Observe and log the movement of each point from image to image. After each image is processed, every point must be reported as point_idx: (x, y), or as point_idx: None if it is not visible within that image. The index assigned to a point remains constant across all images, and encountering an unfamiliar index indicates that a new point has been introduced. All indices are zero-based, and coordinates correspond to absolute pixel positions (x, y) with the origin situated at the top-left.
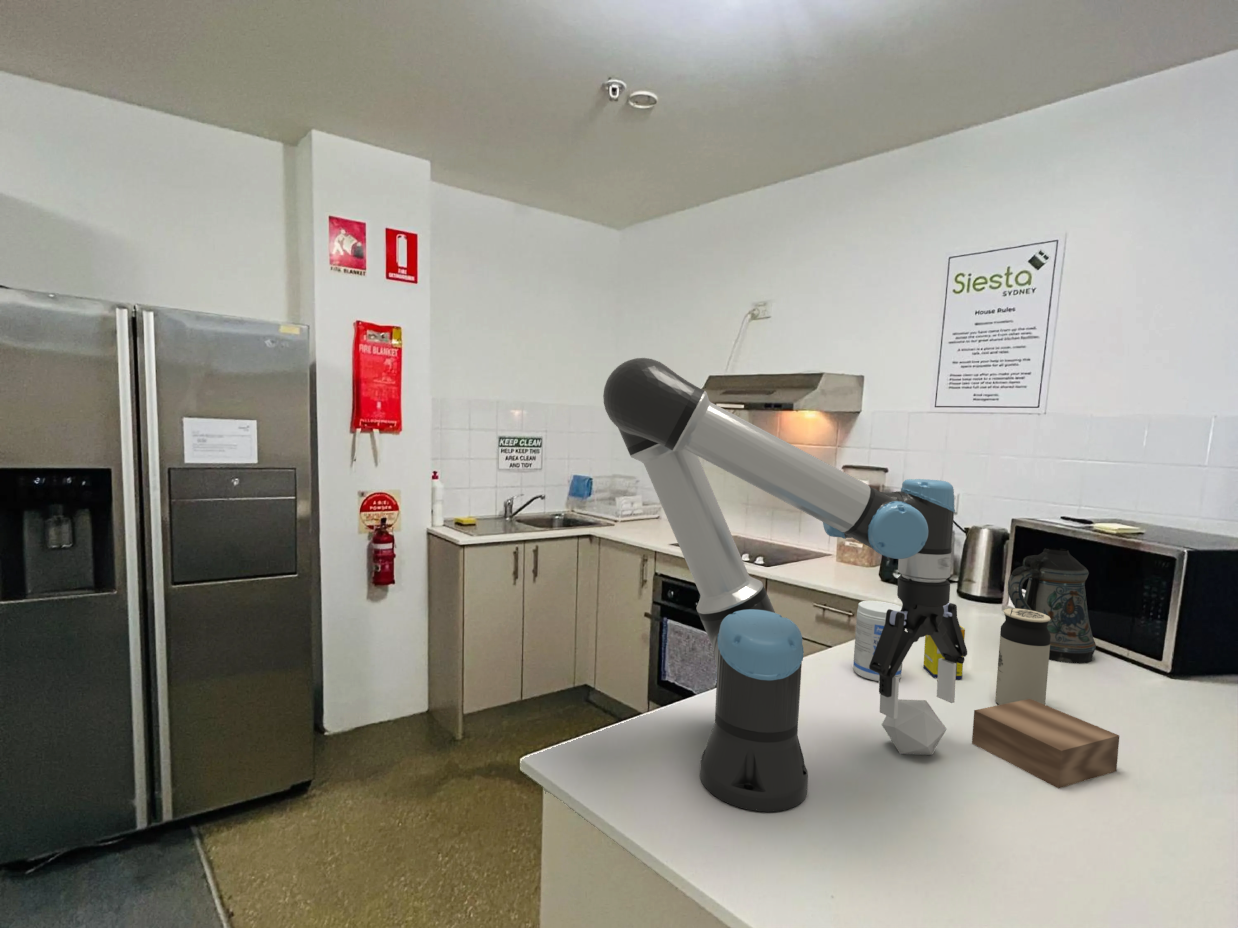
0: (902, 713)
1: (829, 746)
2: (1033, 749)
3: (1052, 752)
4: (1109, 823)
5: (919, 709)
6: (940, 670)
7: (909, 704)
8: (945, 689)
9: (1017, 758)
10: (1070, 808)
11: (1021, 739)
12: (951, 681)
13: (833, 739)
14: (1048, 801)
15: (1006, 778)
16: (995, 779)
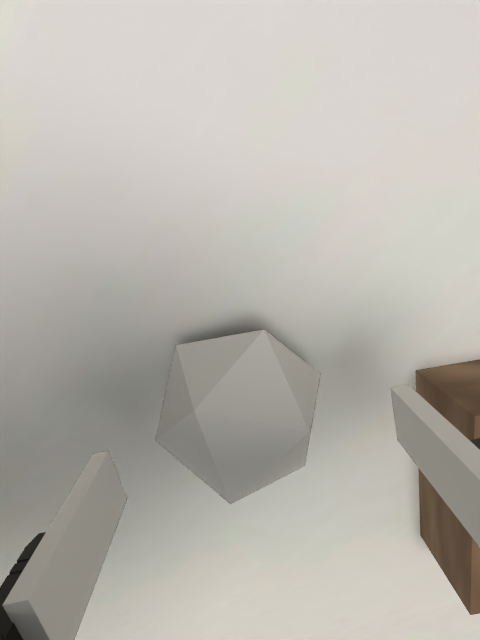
0: (186, 446)
1: (25, 330)
2: (452, 538)
3: (461, 585)
4: (397, 613)
5: (227, 488)
6: (458, 467)
7: (218, 453)
8: (415, 442)
9: (428, 481)
10: (376, 580)
11: (459, 523)
12: (441, 494)
13: (54, 298)
14: (359, 562)
15: (353, 498)
16: (327, 499)
